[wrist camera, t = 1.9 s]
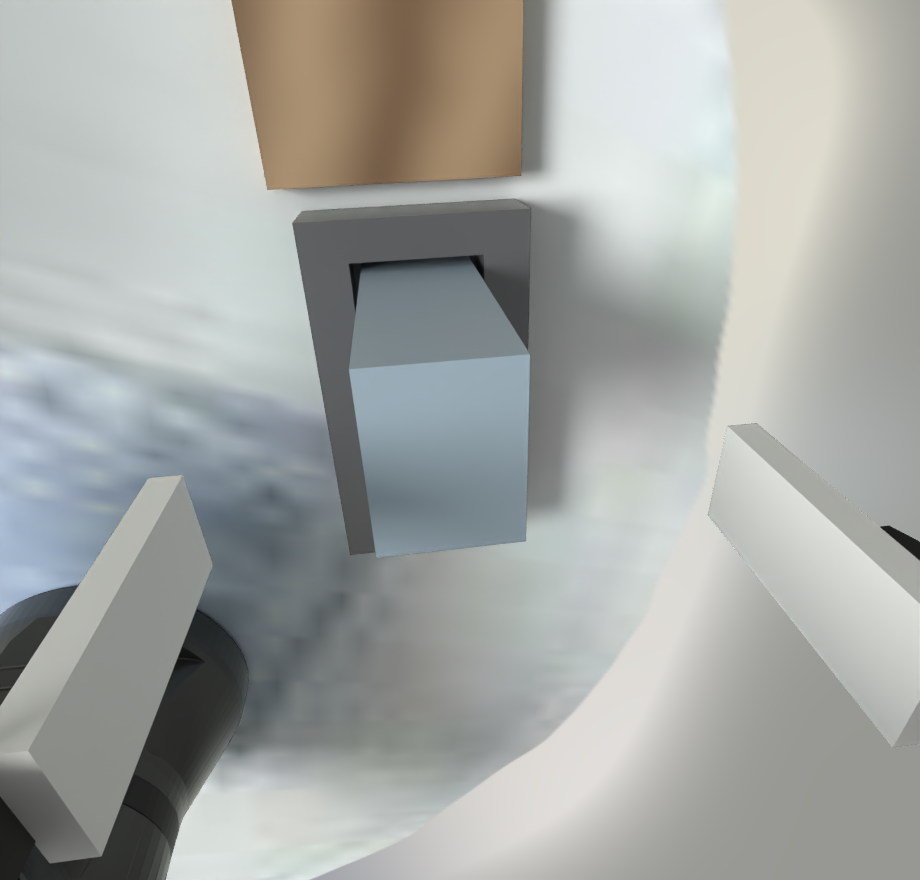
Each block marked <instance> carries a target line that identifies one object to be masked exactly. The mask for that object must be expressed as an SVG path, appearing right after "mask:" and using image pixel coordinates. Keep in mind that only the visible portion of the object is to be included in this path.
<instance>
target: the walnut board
mask: <svg viewBox="0 0 920 880" xmlns="http://www.w3.org/2000/svg"><path fill="white" fill-rule="evenodd" d="M232 6H233V11H234V16H235V21H236V27H237V32H238V37H239V43H240V48H241V53H242V58H243V64H244V69H245V74H246V79H247V85H248V90H249V95H250V100H251V106H252V111H253V116H254V122H255V127H256V132H257V137H258V143H259V148H260V153H261V158H262V164H263V169H264V174H265V179H266V185H267V190H274V189H292V188H310V187H328V186H346V185H364V184H381V183H399V182H417V181H435V180H453V179H471V178H489V177H507V176H521V154H522V72H523V0H232Z"/></svg>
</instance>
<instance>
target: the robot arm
mask: <svg viewBox="0 0 920 880" xmlns="http://www.w3.org/2000/svg"><path fill="white" fill-rule="evenodd" d="M708 516H709V517H710V518H711V520H712V521H713V522H714V523H715V524H716V526H717V527H718V528H719V530H720V531H721V532H722V533H723V535H724V536H725V537H726V538H727V540H728V541H729V542H730V543H731V545H732V546H733V547H734V548H735V550H736V551H737V552H738V553H739V555H740V556H741V557H742V558H743V560H744V561H745V562H746V563H747V565H748V566H749V567H750V569H751V570H752V571H753V572H754V573H755V575H756V576H757V577H758V578H759V580H760V581H761V582H762V584H763V585H764V586H765V587H766V589H767V590H768V591H769V592H770V594H771V595H772V596H773V598H774V599H775V600H776V601H777V603H778V604H779V605H780V606H781V608H782V609H783V610H784V611H785V613H786V614H787V615H788V616H789V618H790V619H791V620H792V621H793V623H794V624H795V625H796V626H797V628H798V629H799V630H800V632H801V633H802V634H803V635H804V637H805V638H806V639H807V640H808V642H809V643H810V644H811V645H812V647H813V648H814V649H815V650H816V652H817V653H818V654H819V655H820V657H821V658H822V659H823V660H824V661H825V663H826V664H827V666H828V667H829V668H830V669H831V671H832V672H833V673H834V674H835V675H836V677H837V678H838V679H839V681H840V682H841V683H842V684H843V686H844V687H845V688H846V689H847V691H848V692H849V693H850V694H851V696H852V697H853V698H854V699H855V701H856V702H857V703H858V705H859V706H860V707H861V708H862V710H863V711H864V712H865V713H866V715H867V716H868V717H869V718H870V719H871V721H872V722H873V723H874V725H875V726H876V727H877V728H878V730H879V731H880V732H881V733H882V735H883V736H884V737H885V739H886V740H887V741H888V742H889V743H890V745H891V746H892V747H893V748H894V747H902V746H909V745H916V744H920V542H919V541H918V540H916V539H914V538H912V537H910V536H908V535H906V534H904V533H902V532H900V531H898V530H896V529H894V528H892V527H891V526H881V527H879V526H878V525H877V524H876V523H874V522H873V521H872V520H871V519H870V518H868V517H867V516H866V515H865V514H864V513H862V512H861V511H860V510H859V509H858V508H857V507H855V506H854V505H853V504H852V503H851V502H850V501H848V500H847V499H846V498H845V497H843V496H842V495H841V494H840V493H839V492H837V491H836V490H835V489H834V488H833V487H832V486H831V485H829V484H828V483H827V482H826V481H825V480H823V479H822V478H821V477H820V476H819V475H817V474H816V473H815V472H814V471H813V470H812V469H810V468H809V467H808V466H807V465H806V464H805V463H803V462H802V461H801V460H800V459H799V458H797V457H796V456H795V455H794V454H793V453H791V452H790V451H789V450H788V449H787V448H786V447H784V446H783V445H782V444H781V443H780V442H778V441H777V440H776V439H775V438H774V437H773V436H771V435H770V434H769V433H768V432H767V431H765V430H764V429H763V428H762V427H761V426H759V425H758V424H757V423H754V424H742V425H731V426H727V429H726V434H725V439H724V443H723V448H722V452H721V457H720V461H719V466H718V470H717V475H716V479H715V484H714V488H713V493H712V498H711V503H710V507H709V511H708ZM212 567H213V563H212V560H211V557H210V554H209V551H208V548H207V545H206V542H205V540H204V537H203V534H202V531H201V528H200V525H199V522H198V519H197V516H196V513H195V510H194V507H193V504H192V501H191V498H190V495H189V492H188V489H187V486H186V483H185V480H184V477H183V475H177V476H166V477H155V478H148V480H147V481H146V483H145V484H144V486H143V487H142V489H141V490H140V492H139V494H138V495H137V497H136V498H135V500H134V501H133V503H132V504H131V506H130V507H129V509H128V510H127V512H126V514H125V515H124V517H123V518H122V520H121V521H120V523H119V524H118V526H117V527H116V529H115V530H114V532H113V534H112V535H111V537H110V538H109V540H108V541H107V543H106V544H105V546H104V547H103V549H102V550H101V552H100V553H99V555H98V557H97V558H96V560H95V561H94V563H93V564H92V566H91V567H90V569H89V570H88V572H87V573H86V575H85V577H84V578H83V580H82V581H81V583H80V584H79V586H78V587H70V588H63V589H58V590H53V591H49V592H45V593H41V594H38V595H35V596H33V597H30V598H28V599H25V600H23V601H21V602H19V603H17V604H15V605H14V606H12V607H10V608H9V609H7V610H6V611H5V612H3V613H2V614H1V615H0V880H166V876H167V872H168V868H169V864H170V860H171V856H172V853H173V849H174V846H175V842H176V839H177V835H178V832H179V828H180V825H181V822H182V819H183V817H184V815H185V814H186V812H187V810H188V809H189V807H190V806H191V804H192V802H193V801H194V799H195V798H196V796H197V794H198V793H199V791H200V789H201V788H202V786H203V785H204V783H205V781H206V780H207V778H208V776H209V775H210V773H211V772H212V770H213V768H214V767H215V765H216V763H217V762H218V760H219V758H220V757H221V755H222V753H223V752H224V750H225V748H226V747H227V745H228V744H229V742H230V740H231V739H232V737H233V735H234V734H235V732H236V729H237V727H238V724H239V722H240V719H241V715H242V711H243V706H244V702H245V698H246V694H247V689H248V670H247V666H246V662H245V660H244V657H243V655H242V653H241V651H240V649H239V648H238V646H237V645H236V643H235V642H234V641H233V639H232V638H231V637H230V636H229V635H228V634H227V633H226V632H225V631H224V630H223V629H222V628H221V627H220V626H219V625H217V624H216V623H215V622H214V621H212V620H211V619H210V618H208V617H207V616H205V615H203V614H202V613H200V612H199V611H197V610H196V609H197V606H198V603H199V601H200V598H201V596H202V593H203V590H204V588H205V585H206V583H207V580H208V577H209V575H210V572H211V569H212Z"/></svg>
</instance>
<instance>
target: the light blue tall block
mask: <svg viewBox="0 0 920 880" xmlns="http://www.w3.org/2000/svg"><path fill="white" fill-rule="evenodd" d="M349 374H350V380H351V387H352V394H353V401H354V408H355V415H356V421H357V428H358V435H359V442H360V449H361V456H362V463H363V469H364V476H365V483H366V490H367V497H368V504H369V511H370V517H371V524H372V531H373V538H374V545H375V552H376V558H380V557H389V556H398V555H407V554H416V553H425V552H434V551H442V550H451V549H460V548H469V547H478V546H487V545H496V544H505V543H514V542H523V541H526V516H527V472H528V427H529V382H530V353H529V352H528V350H527V349H526V347H525V345H524V344H523V342H522V341H521V339H520V337H519V336H518V334H517V333H516V331H515V329H514V328H513V326H512V325H511V323H510V322H509V320H508V318H507V317H506V315H505V314H504V312H503V310H502V309H501V307H500V306H499V304H498V302H497V301H496V299H495V298H494V296H493V295H492V293H491V291H490V290H489V288H488V287H487V285H486V283H485V282H484V280H483V279H482V277H481V275H480V274H479V272H478V271H477V269H476V268H475V266H474V264H473V263H472V261H471V260H470V258H469V256H456V257H441V258H426V259H411V260H396V261H381V262H367V263H362V264H361V272H360V281H359V289H358V297H357V306H356V314H355V322H354V331H353V339H352V348H351V356H350V364H349Z"/></svg>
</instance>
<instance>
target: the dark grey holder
mask: <svg viewBox="0 0 920 880" xmlns="http://www.w3.org/2000/svg"><path fill="white" fill-rule="evenodd" d="M292 224H293V229H294V235H295V241H296V246H297V252H298V258H299V264H300V269H301V275H302V281H303V287H304V292H305V298H306V304H307V309H308V315H309V321H310V327H311V332H312V338H313V344H314V350H315V355H316V361H317V367H318V372H319V378H320V384H321V390H322V395H323V401H324V407H325V413H326V418H327V424H328V430H329V435H330V441H331V447H332V453H333V458H334V464H335V470H336V476H337V481H338V487H339V493H340V498H341V504H342V510H343V516H344V521H345V527H346V533H347V539H348V544H349V550H350V555H354V554H363V553H372V552H375V545H374V538H373V531H372V524H371V517H370V511H369V504H368V497H367V490H366V483H365V476H364V469H363V463H362V456H361V449H360V442H359V435H358V428H357V421H356V415H355V408H354V401H353V394H352V387H351V380H350V374H349V364H350V356H351V348H352V339H353V331H354V322H355V314H356V306H357V297H358V289H359V281H360V272H361V264H362V263H367V262H381V261H396V260H411V259H426V258H441V257H456V256H469V258H470V260H471V261H472V263H473V264H474V266H475V268H476V269H477V271H478V272H479V274H480V275H481V277H482V279H483V280H484V282H485V283H486V285H487V287H488V288H489V290H490V291H491V293H492V295H493V296H494V298H495V299H496V301H497V302H498V304H499V306H500V307H501V309H502V310H503V312H504V314H505V315H506V317H507V318H508V320H509V322H510V323H511V325H512V326H513V328H514V329H515V331H516V333H517V334H518V336H519V337H520V339H521V341H522V342H523V344H524V345H525V347H526V349H527V350H528V326H529V277H530V228H531V208H529V207H528V206H526V205H524V204H523V203H521V202H519V201H518V200H516V199H501V200H484V201H467V202H451V203H434V204H417V205H400V206H383V207H366V208H349V209H332V210H315V211H302V212H301V213H300V214H299V215H298V217H297V218H296V219H295V220H294V222H293V223H292Z"/></svg>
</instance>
